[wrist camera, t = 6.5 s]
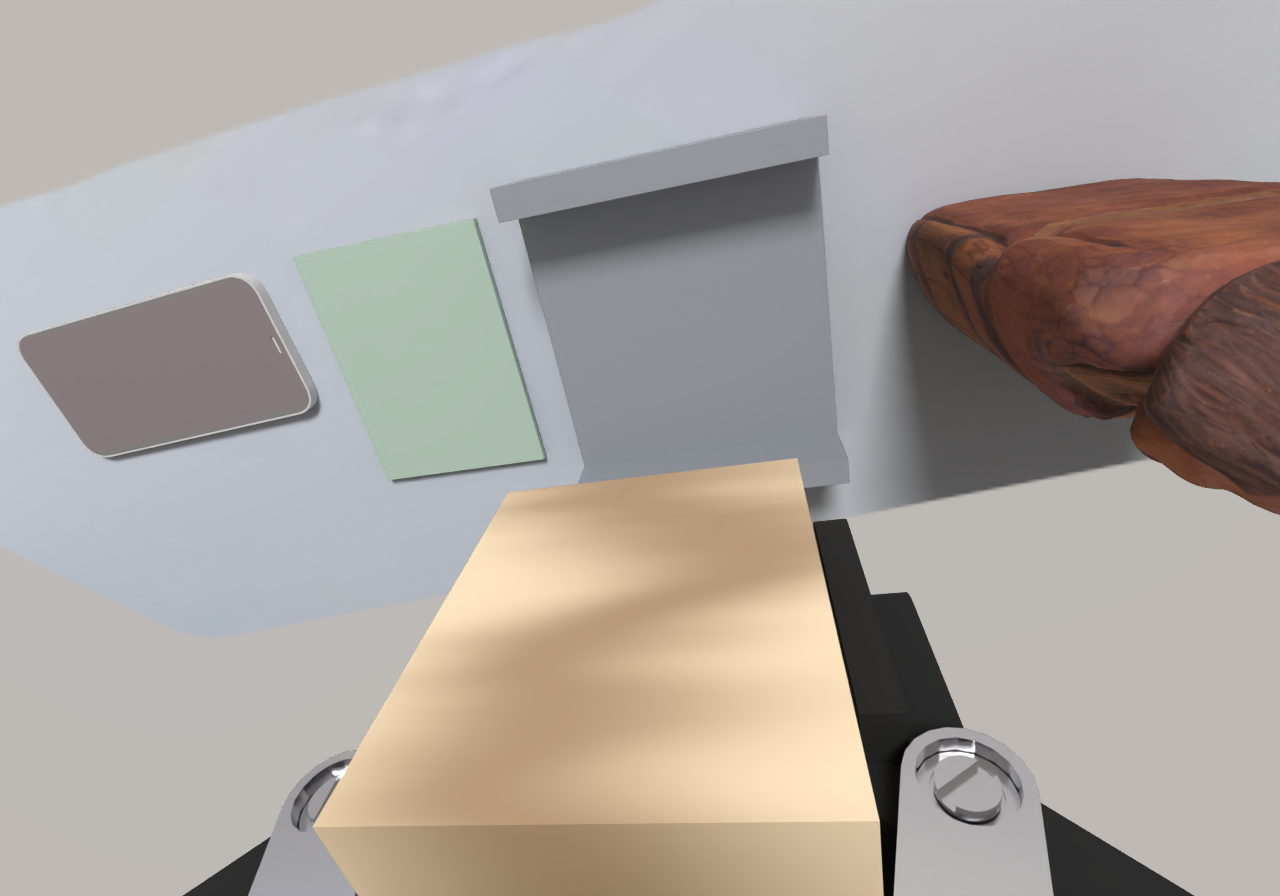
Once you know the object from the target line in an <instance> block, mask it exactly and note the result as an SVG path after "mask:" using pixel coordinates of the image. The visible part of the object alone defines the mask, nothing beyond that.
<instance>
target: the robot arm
mask: <svg viewBox="0 0 1280 896" xmlns="http://www.w3.org/2000/svg"><path fill="white" fill-rule="evenodd" d="M813 528H814V535H815V539H816V543H817V548H818V552H819V557H820V561H821V565H822V570H823V574H824V579H825V583H826V587H827V592H828V596H829V600H830V605H831V609H832V614H833V618H834V622H835V627H836V631H837V636H838V640H839V644H840V649H841V653H842V658H843V662H844V666H845V671H846V675H847V680H848V684H849V688H850V693H851V697H852V702H853V706H854V710H855V715H856V719H857V724H858V728H859V732H860V737H861V741H862V746H863V750H864V754H865V759H866V763H867V768H868V772H869V776H870V781H871V785H872V790H873V794H874V798H875V803H876V807H877V812H878V816H879V820H880V837H881V855H882V874H883V893H884V896H1194V895H1192V894H1190V893H1189V892H1187V891H1185V890H1184V889H1182V888H1180V887H1179V886H1177V885H1176V884H1174V883H1172V882H1171V881H1169V880H1167V879H1166V878H1164V877H1162V876H1161V875H1159V874H1157V873H1156V872H1154V871H1152V870H1151V869H1149V868H1148V867H1146V866H1144V865H1143V864H1141V863H1139V862H1138V861H1136V860H1134V859H1133V858H1131V857H1129V856H1128V855H1126V854H1124V853H1123V852H1121V851H1119V850H1118V849H1116V848H1114V847H1113V846H1111V845H1110V844H1108V843H1106V842H1105V841H1103V840H1101V839H1100V838H1098V837H1096V836H1095V835H1093V834H1091V833H1090V832H1088V831H1086V830H1085V829H1083V828H1081V827H1079V826H1078V825H1077V824H1075V823H1073V822H1072V821H1070V820H1068V819H1066V818H1065V817H1063V816H1061V815H1060V814H1058V813H1057V812H1055V811H1053V810H1052V809H1050V808H1048V807H1047V806H1045V805H1043V804H1042V803H1041V802H1040V794H1039V791H1038V788H1037V785H1036V782H1035V779H1034V776H1033V775H1032V773H1031V772H1030V770H1029V769H1028V767H1027V766H1026V765H1025V763H1024V762H1023V760H1022V759H1021V758H1020V757H1019V756H1017V755H1016V754H1015V753H1014V752H1013V751H1012V750H1011V749H1009V748H1008V747H1007V746H1006V745H1005V744H1003V743H1001V742H999V741H997V740H995V739H993V738H992V737H990V736H988V735H986V734H983V733H979V732H975V731H972V730H969V729H965V728H963V725H962V723H961V720H960V718H959V716H958V713H957V710H956V708H955V705H954V703H953V700H952V698H951V696H950V693H949V691H948V688H947V686H946V683H945V681H944V678H943V676H942V673H941V671H940V668H939V666H938V663H937V661H936V658H935V656H934V653H933V651H932V648H931V646H930V644H929V641H928V638H927V636H926V634H925V631H924V628H923V626H922V624H921V621H920V618H919V616H918V613H917V611H916V608H915V606H914V604H913V601H912V599H911V597H910V595H909V594H908V593H907V592H902V593H889V594H877V595H871V594H870V591H869V588H868V585H867V582H866V578H865V575H864V572H863V569H862V566H861V563H860V560H859V556H858V553H857V550H856V547H855V544H854V541H853V537H852V534H851V531H850V528H849V525H848V522H847V519H837V520H827V521H817V522H813ZM356 752H357V750H352V751H346V752H343V753H341V754H338V755H335V756H333V757H330V758H329V759H327V760H326V761H324V762H323V763H321V764H320V765H318V766H316V767H315V768H314V769H312V770H311V771H310V772H309V773H308V774H307V775H306V776H304V777H303V778H302V779H301V780H300V781H299V783H298V784H297V785H296V786H295V788H294V789H293V790H292V791H291V792H290V794H289V796H288V798H287V800H286V801H285V803H284V805H283V807H282V809H281V812H280V814H279V817H278V820H277V822H276V825H275V827H274V830H273V832H272V835H271V837H270V838H268V839H267V840H265V841H264V842H262V843H261V844H259V845H258V846H256V847H255V848H253V849H252V850H250V851H249V852H247V853H246V854H244V855H243V856H241V857H240V858H238V859H237V860H235V861H234V862H232V863H231V864H229V865H228V866H227V867H225V868H224V869H222V870H220V871H219V872H218V873H216V874H215V875H213V876H212V877H210V878H209V879H207V880H206V881H204V882H203V883H201V884H200V885H198V886H197V887H195V888H194V889H192V890H191V891H189V892H188V893H186V894H185V895H183V896H358V895H357V893H356V892H355V890H354V889H353V887H352V886H351V884H350V883H349V881H348V880H347V878H346V877H345V875H344V874H343V872H342V871H341V869H340V868H339V866H338V865H337V863H336V862H335V860H334V859H333V857H332V856H331V854H330V853H329V851H328V850H327V848H326V847H325V845H324V844H323V842H322V841H321V839H320V838H319V836H318V835H317V833H316V832H315V830H314V829H313V825H314V823H315V822H316V820H317V818H318V816H319V815H320V813H321V811H322V810H323V808H324V806H325V805H326V803H327V801H328V799H329V798H330V796H331V794H332V793H333V791H334V789H335V787H336V786H337V784H338V782H339V781H340V779H341V777H342V775H343V774H344V772H345V770H346V769H347V767H348V765H349V764H350V762H351V760H352V758H353V757H354V755H355V753H356Z"/></svg>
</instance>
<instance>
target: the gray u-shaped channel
mask: <svg viewBox="0 0 1280 896" xmlns="http://www.w3.org/2000/svg"><path fill="white" fill-rule="evenodd" d="M824 155H829V145H828V129H827V115H825V116H817V117H809V118H804V119H799V120H795V121H790V122H786V123H781V124H776V125H772V126H767V127H763V128H758V129H754V130H749V131H745V132H740V133H735V134H731V135H726V136H722V137H717V138H713V139H708V140H704V141H699V142H694V143H690V144H685V145H681V146H676V147H672V148H667V149H663V150H658V151H653V152H649V153H644V154H640V155H635V156H631V157H626V158H622V159H617V160H612V161H608V162H603V163H599V164H594V165H590V166H585V167H581V168H576V169H571V170H567V171H562V172H558V173H553V174H549V175H544V176H540V177H535V178H530V179H526V180H522V181H518V182H514V183H510V184H507V185H503V186H499V187H496V188H492V189H490V193H491V196H492V200H493V203H494V207H495V211H496V214H497V218H498V221H499V223H502V222H507V221H512V220H517V219H519V223H520V227H521V231H522V234H523V238H524V242H525V245H526V249H527V253H528V257H529V260H530V264H531V268H532V271H533V275H534V279H535V283H536V286H537V290H538V294H539V298H540V301H541V305H542V309H543V312H544V316H545V320H546V324H547V327H548V331H549V335H550V338H551V342H552V346H553V350H554V353H555V357H556V361H557V365H558V368H559V372H560V376H561V379H562V383H563V387H564V391H565V394H566V398H567V402H568V406H569V409H570V413H571V417H572V420H573V424H574V428H575V432H576V435H577V439H578V443H579V446H580V450H581V454H582V458H583V461H584V465H585V467H584V469H583V472H582V475H581V477H580V480H579V483H578V484H583V483H592V482H600V481H609V480H617V479H625V478H634V477H642V476H651V475H659V474H668V473H676V472H684V471H693V470H701V469H710V468H718V467H726V466H735V465H743V464H752V463H760V462H769V461H777V460H785V459H794V458H797V460H798V464H799V469H800V473H801V477H802V482H803V486H804V488H810V487H818V486H827V485H835V484H844V483H850V481H849V465H848V457H847V454H846V452H845V450H844V447H843V445H842V442H841V440H840V438H839V435H838V433H837V419H836V405H835V390H834V376H833V361H832V347H831V333H830V318H829V304H828V289H827V275H826V261H825V246H824V232H823V217H822V203H821V189H820V174H819V160H818V157H819V156H824Z"/></svg>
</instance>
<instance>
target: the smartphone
mask: <svg viewBox="0 0 1280 896" xmlns="http://www.w3.org/2000/svg"><path fill="white" fill-rule="evenodd" d="M17 348H18V352H19V354H20V356H21V358H22V359H23V361H24V362H25V364H26V365H27V367H28V368H29V369H30V371H31V372H32V374H33V375H34V376H35V378H36V379H37V381H38V382H39V384H40V385H41V386H42V388H43V389H44V391H45V392H46V393H47V395H48V396H49V398H50V399H51V401H52V402H53V403H54V405H55V406H56V408H57V409H58V410H59V412H60V413H61V415H62V416H63V417H64V419H65V420H66V422H67V423H68V425H69V426H70V427H71V429H72V430H73V432H74V433H75V434H76V436H77V437H78V439H79V440H80V442H81V443H82V444H83V445H84V446H85V448H86V449H87V450H89V451H90V452H92V453H93V454H95V455H97V456H100V457H113V456H117V455H122V454H126V453H131V452H135V451H140V450H144V449H148V448H153V447H157V446H162V445H166V444H171V443H175V442H179V441H184V440H188V439H193V438H197V437H201V436H206V435H210V434H215V433H219V432H224V431H228V430H232V429H237V428H241V427H246V426H250V425H255V424H259V423H263V422H268V421H272V420H277V419H281V418H285V417H290V416H294V415H299V414H302V413H304V412H306V411H307V410H309V409H310V408H312V407H313V406H314V405H315V404H316V402H317V399H318V392H317V389H316V386H315V384H314V382H313V380H312V378H311V376H310V374H309V372H308V370H307V368H306V366H305V364H304V362H303V360H302V358H301V356H300V354H299V353H298V351H297V349H296V347H295V345H294V343H293V341H292V339H291V337H290V335H289V333H288V331H287V329H286V327H285V325H284V323H283V321H282V319H281V318H280V316H279V314H278V312H277V310H276V308H275V306H274V304H273V302H272V300H271V298H270V296H269V294H268V292H267V291H266V289H265V287H264V286H263V285H262V283H261V282H260V281H259V280H257V279H256V278H255V277H253V276H252V275H249V274H246V273H233V274H230V275H226V276H223V277H219V278H216V279H212V280H211V279H208V280H204V281H201V282H200V283H199V284H195V285H194V284H192V285H189V286H186V287H182V288H179V289H175V290H173V291H171V292H170V291H168V292H165V293H161V294H158V295H155V296H151V297H149V298H147V299H143V300H140V301H136V302H133V303H130V304H126V305H123V306H119V307H116V308H112V309H109V310H105V311H102V312H99V313H95V314H92V315H88V316H85V317H81V318H78V319H74V320H71V321H68V322H64V323H61V324H57V325H54V326H50V327H47V328H43V329H40V330H36V331H33V332H30V333H27V334H24V335H22V336H21V337H20V338H19V339H18V342H17Z"/></svg>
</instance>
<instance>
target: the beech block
mask: <svg viewBox="0 0 1280 896" xmlns="http://www.w3.org/2000/svg"><path fill="white" fill-rule="evenodd" d="M313 829H314V830H315V832H316V833H317V835H318V836H319V838H320V839H321V841H322V842H323V844H324V845H325V847H326V848H327V850H328V851H329V853H330V854H331V856H332V857H333V859H334V860H335V862H336V863H337V865H338V866H339V868H340V869H341V871H342V872H343V874H344V875H345V877H346V878H347V880H348V881H349V883H350V884H351V886H352V887H353V889H354V890H355V892H356V893H357V895H358V896H884V893H883V874H882V855H881V837H880V820H879V816H878V812H877V807H876V803H875V798H874V794H873V790H872V785H871V781H870V776H869V772H868V768H867V763H866V759H865V754H864V750H863V746H862V741H861V737H860V732H859V728H858V724H857V719H856V715H855V710H854V706H853V702H852V697H851V693H850V688H849V684H848V680H847V675H846V671H845V666H844V662H843V658H842V653H841V649H840V644H839V640H838V636H837V631H836V627H835V622H834V618H833V614H832V609H831V605H830V600H829V596H828V592H827V587H826V583H825V579H824V574H823V570H822V565H821V561H820V557H819V552H818V548H817V543H816V539H815V535H814V530H813V526H812V521H811V517H810V513H809V508H808V504H807V499H806V495H805V491H804V486H803V482H802V477H801V473H800V469H799V464H798V460H797V458H794V459H785V460H777V461H769V462H760V463H752V464H743V465H735V466H726V467H718V468H710V469H701V470H693V471H684V472H676V473H668V474H659V475H651V476H642V477H634V478H625V479H617V480H609V481H600V482H592V483H583V484H575V485H566V486H558V487H550V488H541V489H533V490H524V491H516V492H508V494H507V495H506V497H505V499H504V501H503V502H502V504H501V506H500V507H499V509H498V511H497V513H496V514H495V516H494V518H493V519H492V521H491V523H490V524H489V526H488V528H487V530H486V531H485V533H484V535H483V536H482V538H481V540H480V542H479V543H478V545H477V547H476V548H475V550H474V552H473V554H472V555H471V557H470V559H469V560H468V562H467V564H466V565H465V567H464V569H463V571H462V572H461V574H460V576H459V577H458V579H457V581H456V583H455V584H454V586H453V588H452V589H451V591H450V593H449V594H448V596H447V598H446V600H445V601H444V603H443V605H442V606H441V608H440V610H439V612H438V613H437V615H436V617H435V618H434V620H433V622H432V624H431V625H430V627H429V629H428V631H427V632H426V634H425V636H424V637H423V639H422V641H421V642H420V644H419V646H418V647H417V649H416V651H415V653H414V654H413V656H412V658H411V659H410V661H409V663H408V665H407V666H406V668H405V670H404V672H403V673H402V675H401V677H400V678H399V680H398V682H397V683H396V685H395V687H394V689H393V690H392V692H391V694H390V695H389V697H388V699H387V700H386V702H385V704H384V705H383V707H382V709H381V711H380V713H379V714H378V716H377V717H376V719H375V721H374V723H373V724H372V726H371V728H370V729H369V731H368V733H367V735H366V736H365V738H364V740H363V741H362V743H361V745H360V746H359V748H358V750H357V752H356V753H355V755H354V757H353V758H352V760H351V762H350V764H349V765H348V767H347V769H346V770H345V772H344V774H343V775H342V777H341V779H340V781H339V782H338V784H337V786H336V787H335V789H334V791H333V793H332V794H331V796H330V798H329V799H328V801H327V803H326V805H325V806H324V808H323V810H322V811H321V813H320V815H319V816H318V818H317V820H316V822H315V823H314V825H313Z"/></svg>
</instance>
